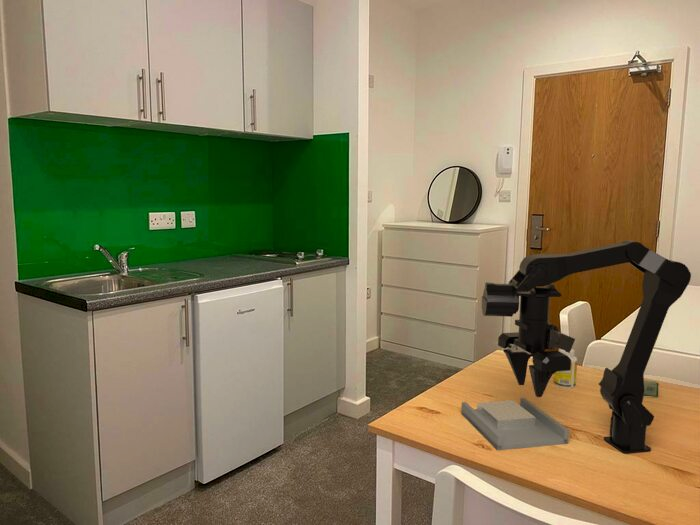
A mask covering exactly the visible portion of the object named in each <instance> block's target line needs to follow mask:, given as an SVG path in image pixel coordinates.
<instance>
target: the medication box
mask: <svg viewBox="0 0 700 525" xmlns="http://www.w3.org/2000/svg"><path fill="white" fill-rule="evenodd" d="M659 386H660V384H659V382H657V381H655V380H646V379H644V388H645V392H644V396H653V397H652V398H657V397H658V398H659Z"/></svg>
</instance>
